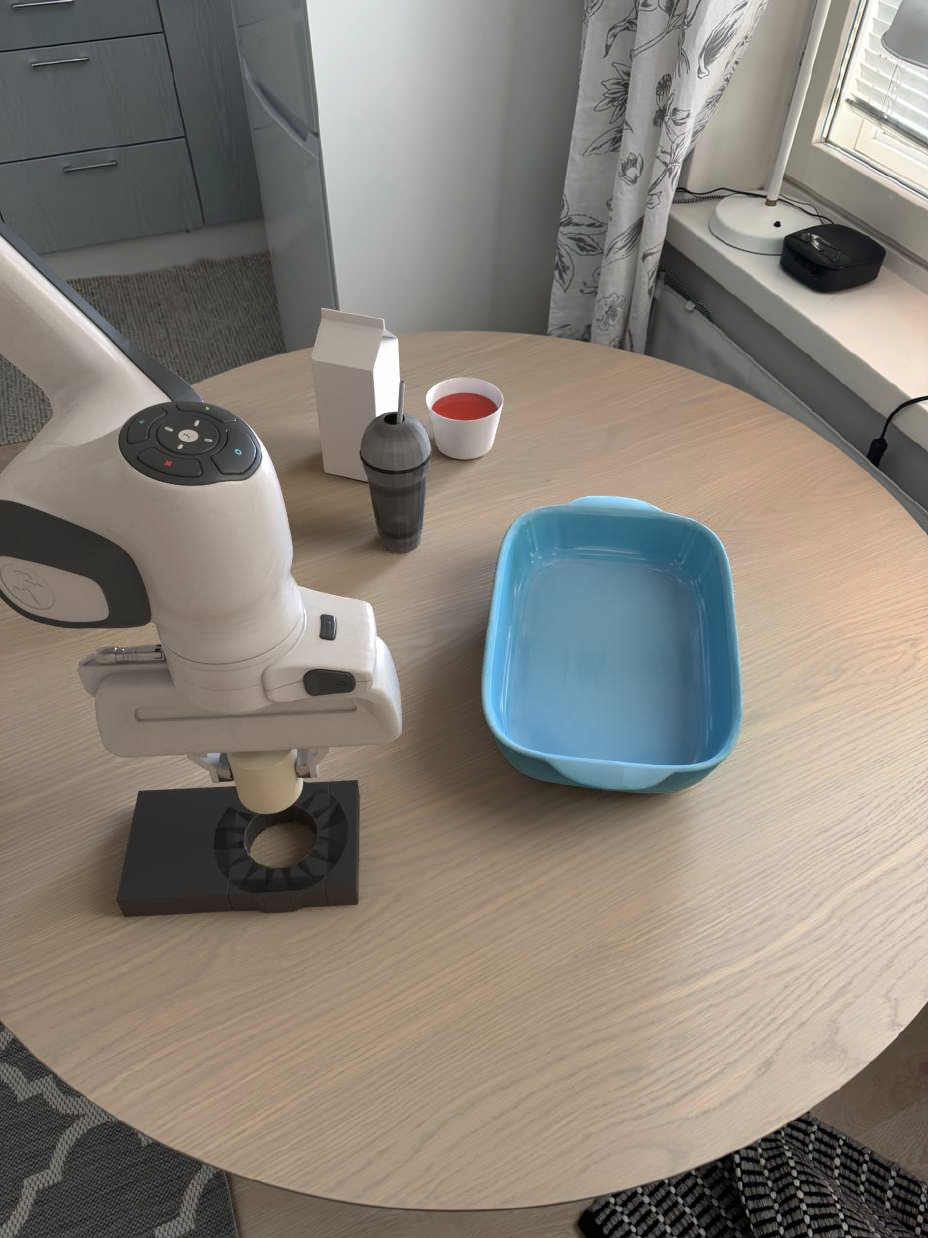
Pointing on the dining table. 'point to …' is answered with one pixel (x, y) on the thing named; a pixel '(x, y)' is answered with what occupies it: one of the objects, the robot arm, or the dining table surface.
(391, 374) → the milk carton
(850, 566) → the dining table surface
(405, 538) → the beverage cup
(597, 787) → the casserole dish
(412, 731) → the dining table surface
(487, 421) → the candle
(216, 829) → the board
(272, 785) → the stopper
